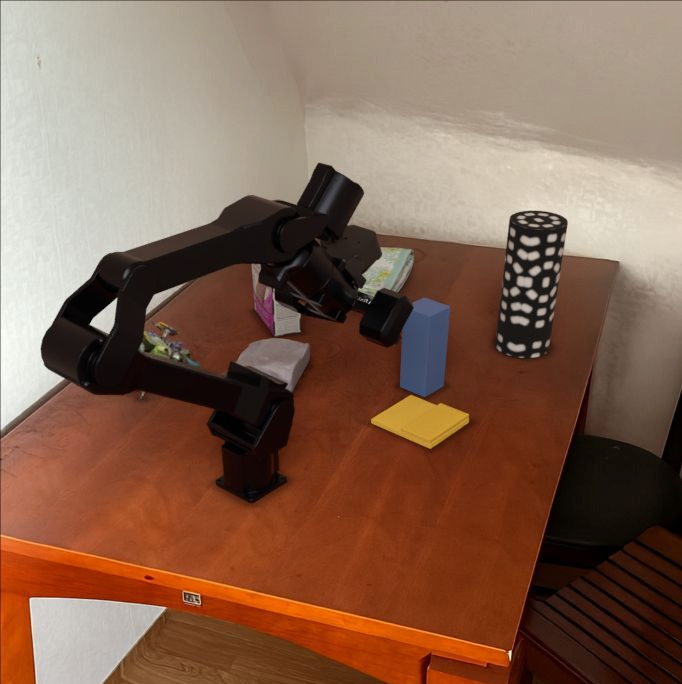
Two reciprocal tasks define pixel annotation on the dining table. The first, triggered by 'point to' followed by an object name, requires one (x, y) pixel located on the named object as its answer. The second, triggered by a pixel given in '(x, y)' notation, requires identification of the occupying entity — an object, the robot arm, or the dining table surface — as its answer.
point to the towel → (388, 271)
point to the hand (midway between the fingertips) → (370, 330)
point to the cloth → (421, 421)
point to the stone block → (278, 359)
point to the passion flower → (166, 346)
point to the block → (424, 347)
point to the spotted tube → (530, 283)
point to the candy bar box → (273, 309)
